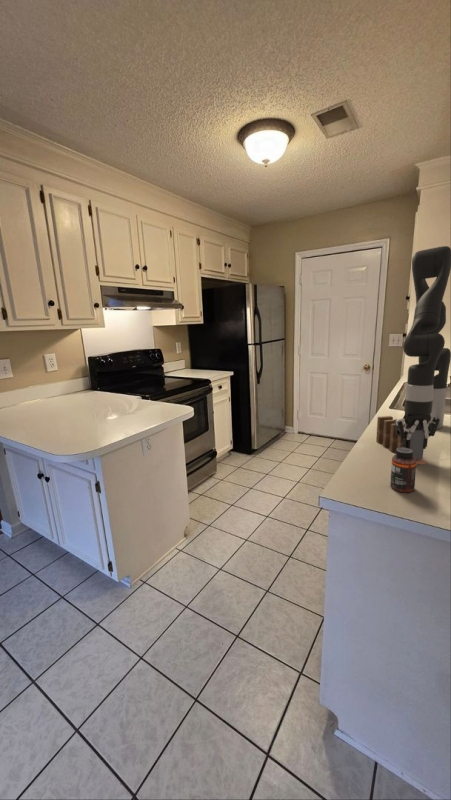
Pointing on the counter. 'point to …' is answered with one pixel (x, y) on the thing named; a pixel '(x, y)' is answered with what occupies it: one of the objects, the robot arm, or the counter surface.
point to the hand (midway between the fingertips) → (414, 448)
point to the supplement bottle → (403, 470)
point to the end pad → (421, 461)
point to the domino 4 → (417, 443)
